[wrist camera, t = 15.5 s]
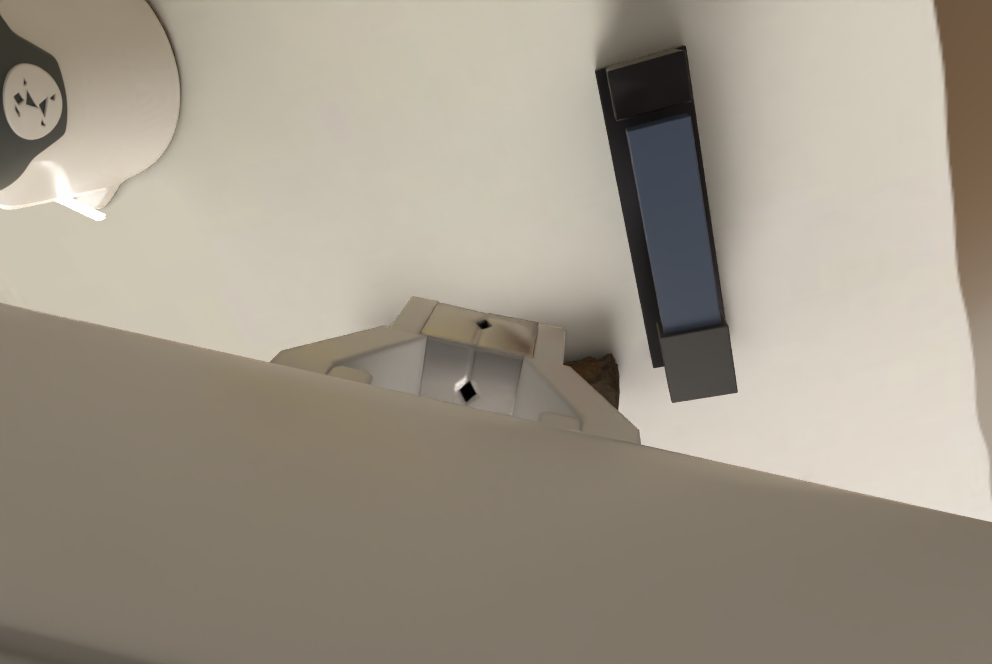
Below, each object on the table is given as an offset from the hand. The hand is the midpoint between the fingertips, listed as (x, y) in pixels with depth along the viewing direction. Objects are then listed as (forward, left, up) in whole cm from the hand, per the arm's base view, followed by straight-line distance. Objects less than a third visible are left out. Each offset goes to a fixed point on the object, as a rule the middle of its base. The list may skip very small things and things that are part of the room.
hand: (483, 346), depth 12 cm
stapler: (+8, -4, -31) cm, 32 cm away
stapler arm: (+8, -5, -26) cm, 27 cm away
